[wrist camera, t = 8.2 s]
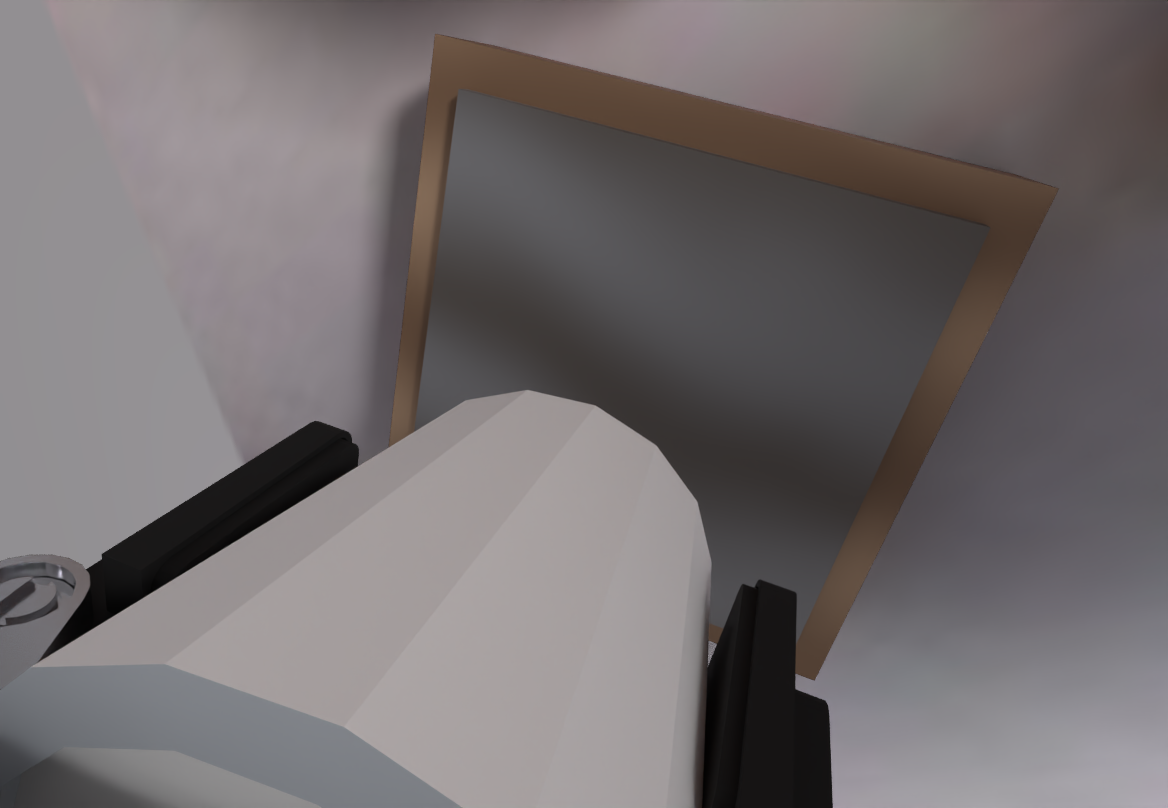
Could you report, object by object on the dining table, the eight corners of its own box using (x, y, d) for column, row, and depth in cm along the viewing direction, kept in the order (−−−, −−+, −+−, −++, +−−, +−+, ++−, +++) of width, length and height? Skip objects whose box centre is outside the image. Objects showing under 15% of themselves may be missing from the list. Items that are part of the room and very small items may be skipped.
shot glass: (396, 676, 14) (82, 1115, 8) (329, 347, 12) (-202, 613, 6) (747, 734, 12) (692, 1367, 6) (756, 356, 10) (677, 776, 4)
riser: (493, 45, 20) (424, 31, 16) (1014, 174, 18) (1067, 190, 14) (432, 466, 26) (372, 523, 22) (813, 605, 24) (814, 693, 20)
